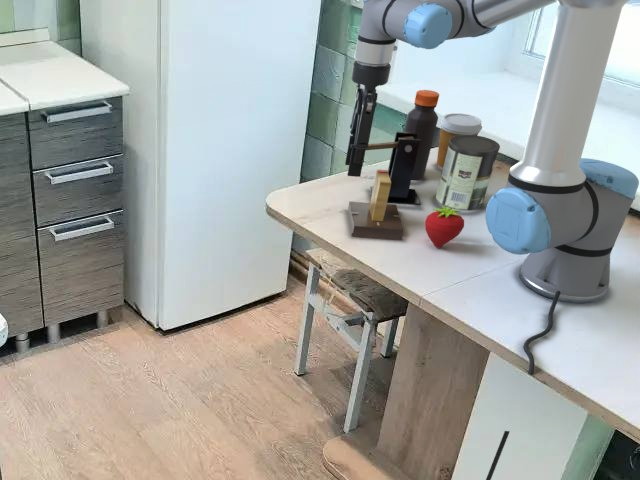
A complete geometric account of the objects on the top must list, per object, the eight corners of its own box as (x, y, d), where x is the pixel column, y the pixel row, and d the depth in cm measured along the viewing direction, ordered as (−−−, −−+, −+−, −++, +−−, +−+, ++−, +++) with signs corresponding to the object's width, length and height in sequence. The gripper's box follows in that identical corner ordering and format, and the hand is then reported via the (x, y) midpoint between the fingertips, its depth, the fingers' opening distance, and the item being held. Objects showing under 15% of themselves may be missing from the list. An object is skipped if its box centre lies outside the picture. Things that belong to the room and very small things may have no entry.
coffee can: (473, 194, 183) (490, 134, 174) (488, 214, 175) (507, 152, 166) (428, 193, 183) (443, 133, 175) (441, 213, 175) (457, 151, 166)
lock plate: (401, 240, 165) (404, 228, 163) (351, 237, 165) (353, 225, 164) (394, 215, 174) (396, 203, 172) (346, 211, 175) (349, 200, 173)
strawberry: (460, 255, 160) (473, 209, 154) (421, 253, 160) (433, 207, 154) (454, 242, 164) (466, 196, 158) (416, 239, 165) (428, 194, 159)
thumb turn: (382, 221, 166) (391, 181, 160) (372, 220, 166) (380, 180, 161) (379, 209, 170) (388, 169, 165) (369, 208, 171) (377, 169, 165)
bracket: (373, 205, 178) (386, 141, 169) (369, 191, 184) (382, 127, 175) (419, 209, 177) (435, 143, 168) (413, 193, 183) (429, 130, 174)
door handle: (353, 158, 173) (354, 147, 172) (351, 149, 177) (351, 138, 176) (414, 153, 171) (415, 142, 169) (411, 144, 175) (411, 133, 174)
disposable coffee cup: (478, 170, 194) (492, 122, 187) (451, 178, 190) (465, 129, 183) (447, 157, 201) (459, 110, 193) (421, 165, 197) (432, 116, 189)
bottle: (405, 170, 194) (424, 86, 182) (428, 179, 190) (450, 94, 178) (387, 176, 191) (406, 92, 178) (411, 186, 186) (431, 100, 174)
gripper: (397, 76, 156) (374, 188, 170) (385, 50, 170) (365, 155, 184) (358, 74, 156) (338, 186, 170) (350, 48, 171) (332, 153, 185)
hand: (352, 170), depth 177 cm, fingers closed on door handle, 5 cm apart
